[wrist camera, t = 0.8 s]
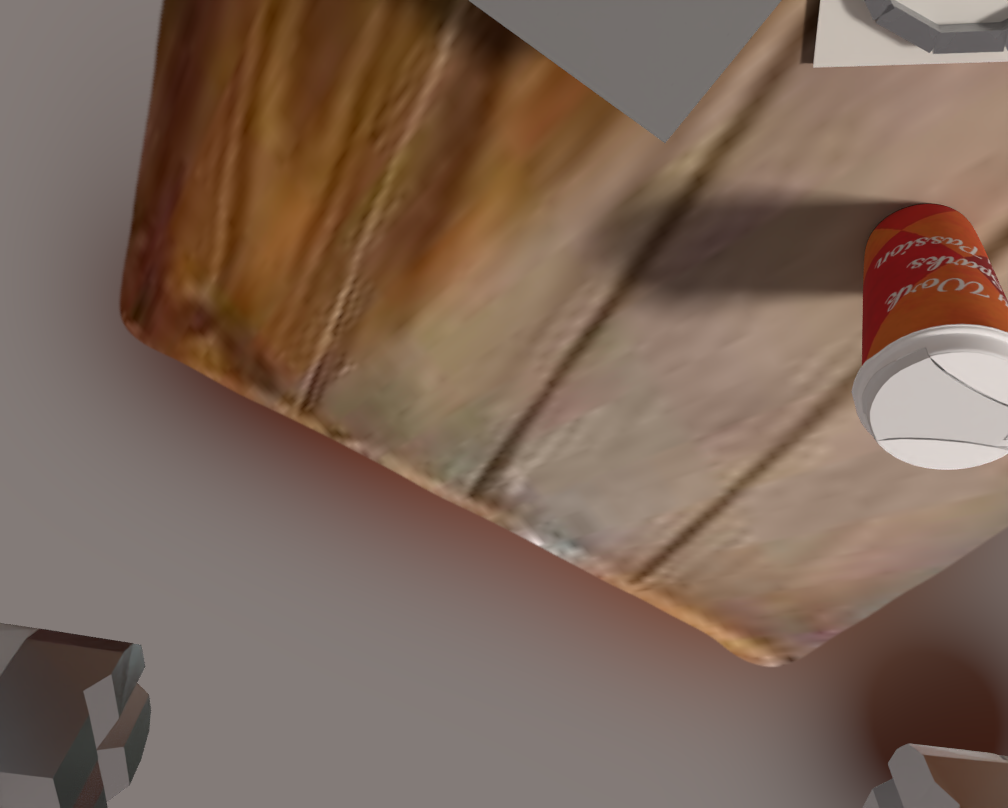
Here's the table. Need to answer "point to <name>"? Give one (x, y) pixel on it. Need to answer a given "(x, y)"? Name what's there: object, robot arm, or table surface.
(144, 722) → the robot arm
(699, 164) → the table surface
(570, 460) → the table surface
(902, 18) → the steel ring collar
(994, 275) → the coffee cup
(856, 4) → the pale board
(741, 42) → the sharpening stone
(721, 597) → the table surface
